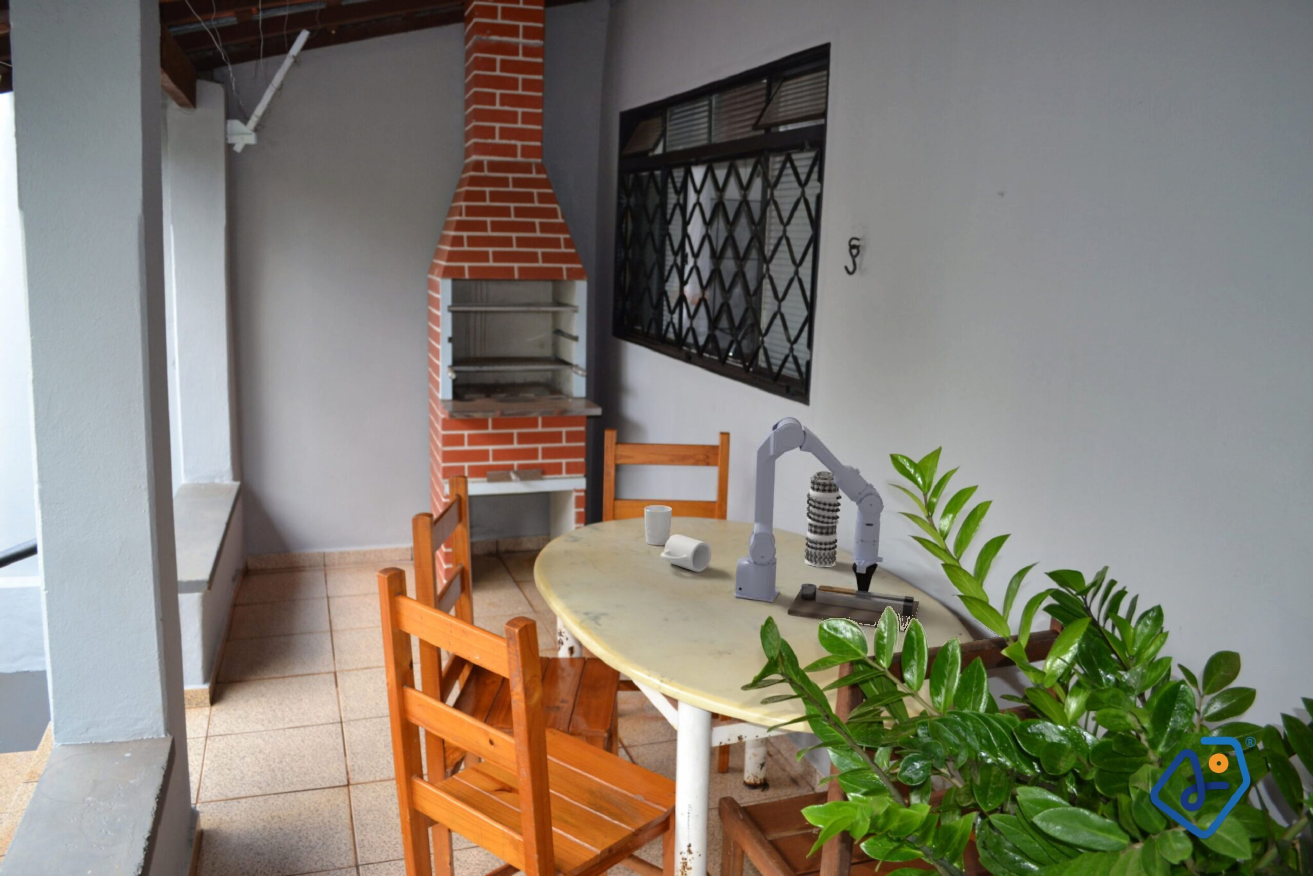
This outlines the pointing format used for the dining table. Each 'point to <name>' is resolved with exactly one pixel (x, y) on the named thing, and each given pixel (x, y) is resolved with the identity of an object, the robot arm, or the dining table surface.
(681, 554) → the mug
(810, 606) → the walnut board
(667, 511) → the white cup
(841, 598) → the grey long bar
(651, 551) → the dining table surface
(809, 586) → the tong arm
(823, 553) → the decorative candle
